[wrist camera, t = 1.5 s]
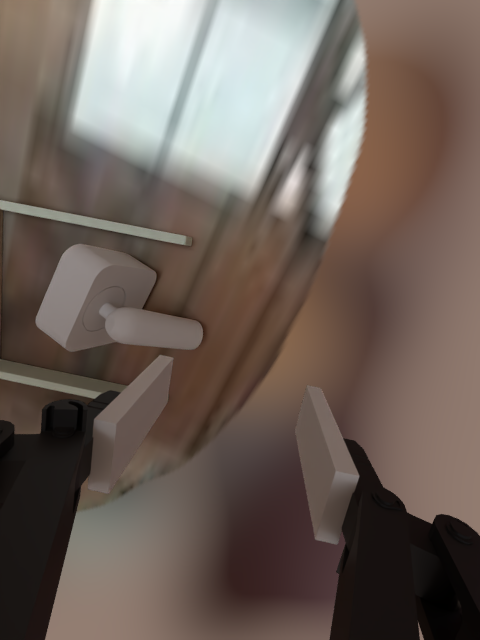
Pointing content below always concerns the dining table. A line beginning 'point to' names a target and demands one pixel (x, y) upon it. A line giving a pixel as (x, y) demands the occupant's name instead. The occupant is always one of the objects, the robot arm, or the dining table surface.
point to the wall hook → (108, 304)
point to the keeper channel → (52, 377)
